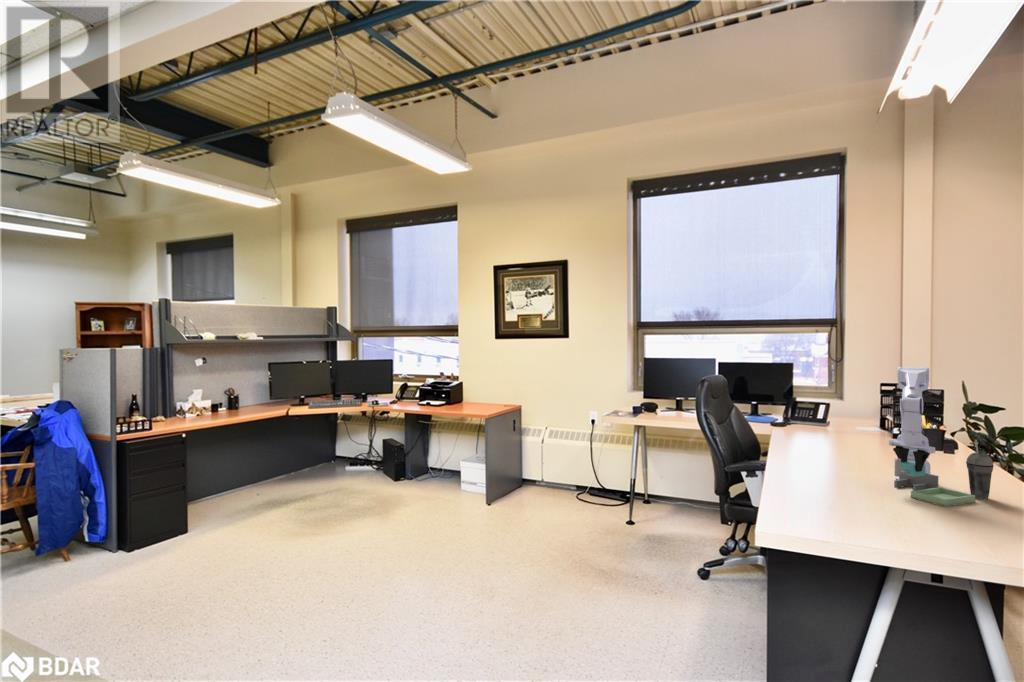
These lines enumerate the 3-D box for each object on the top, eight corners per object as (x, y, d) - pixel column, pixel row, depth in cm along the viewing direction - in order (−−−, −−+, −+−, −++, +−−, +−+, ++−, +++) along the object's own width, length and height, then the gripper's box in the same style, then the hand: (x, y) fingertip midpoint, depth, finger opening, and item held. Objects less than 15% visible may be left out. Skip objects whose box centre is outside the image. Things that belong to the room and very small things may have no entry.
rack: (900, 483, 199) (900, 467, 199) (938, 492, 187) (938, 475, 187) (886, 485, 197) (886, 469, 197) (923, 494, 184) (923, 477, 184)
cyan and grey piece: (912, 472, 190) (912, 455, 190) (925, 475, 185) (925, 458, 185) (889, 474, 186) (889, 457, 186) (902, 477, 182) (902, 460, 182)
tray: (940, 493, 186) (940, 487, 186) (975, 502, 176) (975, 495, 176) (910, 497, 181) (910, 491, 181) (944, 506, 171) (944, 499, 171)
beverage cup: (999, 501, 177) (999, 442, 177) (974, 500, 179) (974, 441, 179) (984, 495, 184) (984, 438, 184) (960, 494, 186) (960, 437, 186)
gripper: (882, 428, 192) (882, 465, 192) (925, 435, 178) (925, 475, 178) (896, 427, 194) (896, 464, 194) (939, 434, 180) (939, 473, 180)
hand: (911, 469), depth 186 cm, fingers closed on cyan and grey piece, 4 cm apart
